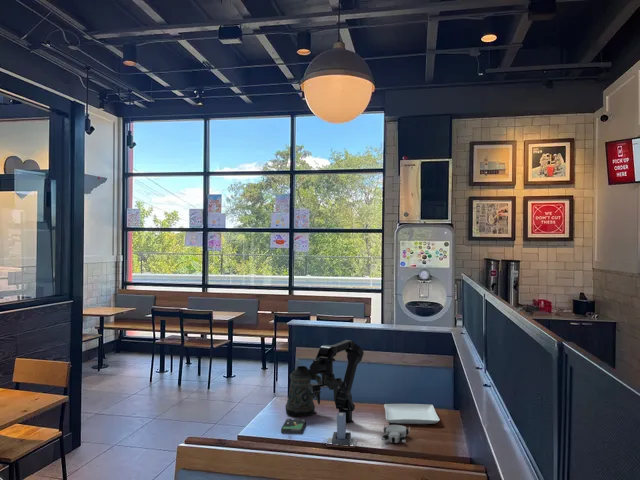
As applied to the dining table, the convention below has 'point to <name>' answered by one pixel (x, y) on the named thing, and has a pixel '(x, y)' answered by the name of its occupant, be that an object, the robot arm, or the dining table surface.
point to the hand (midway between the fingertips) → (327, 403)
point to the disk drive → (293, 426)
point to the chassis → (342, 440)
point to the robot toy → (395, 433)
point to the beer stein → (301, 393)
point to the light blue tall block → (341, 425)
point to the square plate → (411, 414)
